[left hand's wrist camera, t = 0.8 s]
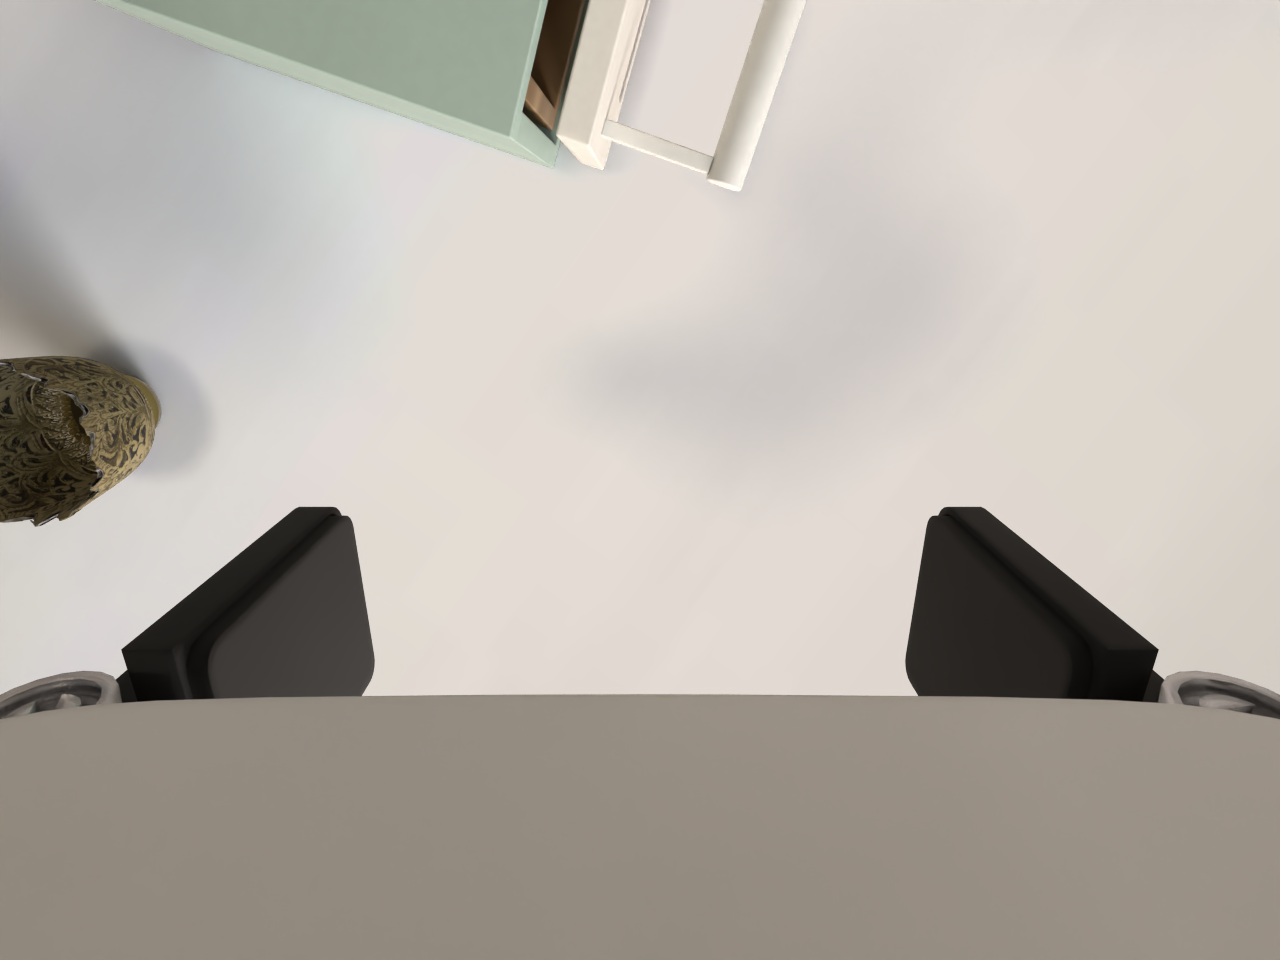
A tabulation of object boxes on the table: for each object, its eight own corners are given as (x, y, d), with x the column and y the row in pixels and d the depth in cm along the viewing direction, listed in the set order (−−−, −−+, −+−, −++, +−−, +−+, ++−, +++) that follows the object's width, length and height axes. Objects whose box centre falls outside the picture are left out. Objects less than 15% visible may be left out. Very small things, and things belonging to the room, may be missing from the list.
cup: (231, 434, 37) (128, 485, 30) (127, 489, 38) (2, 552, 31) (140, 309, 35) (3, 331, 27) (32, 372, 36) (-128, 410, 29)
